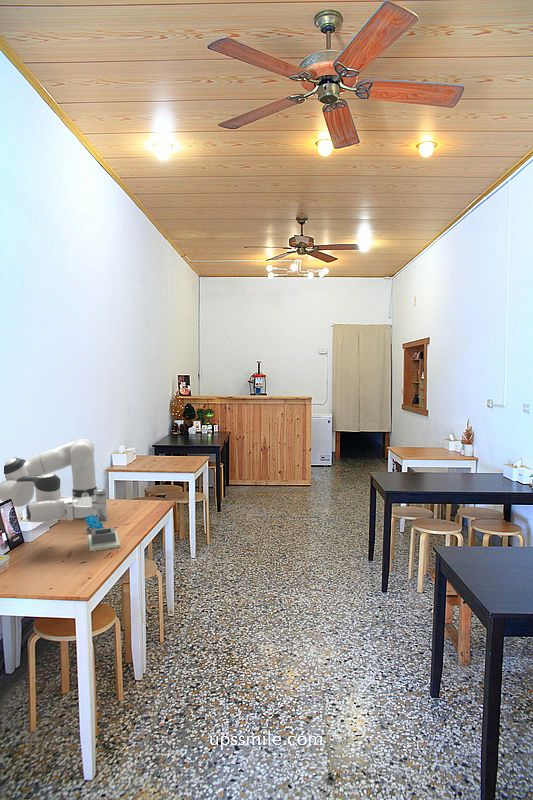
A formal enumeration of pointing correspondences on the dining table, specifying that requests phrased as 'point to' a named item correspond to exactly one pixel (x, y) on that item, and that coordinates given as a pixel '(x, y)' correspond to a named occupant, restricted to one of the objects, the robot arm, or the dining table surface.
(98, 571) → the dining table surface
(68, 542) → the dining table surface
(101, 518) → the pin
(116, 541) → the socket board
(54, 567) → the dining table surface
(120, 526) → the dining table surface
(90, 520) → the gear
